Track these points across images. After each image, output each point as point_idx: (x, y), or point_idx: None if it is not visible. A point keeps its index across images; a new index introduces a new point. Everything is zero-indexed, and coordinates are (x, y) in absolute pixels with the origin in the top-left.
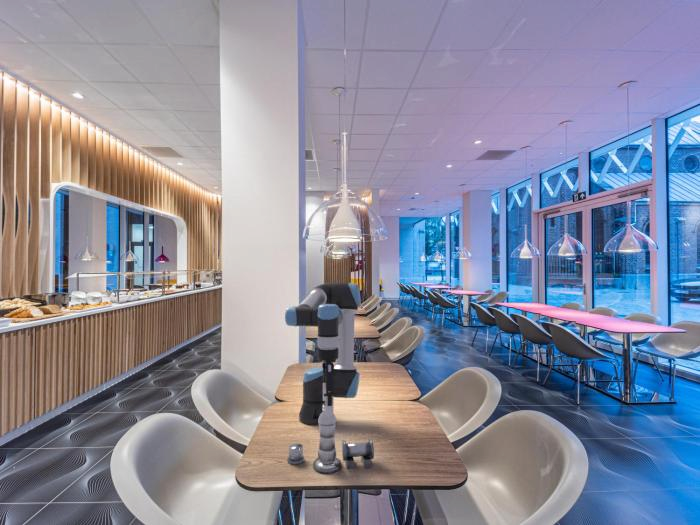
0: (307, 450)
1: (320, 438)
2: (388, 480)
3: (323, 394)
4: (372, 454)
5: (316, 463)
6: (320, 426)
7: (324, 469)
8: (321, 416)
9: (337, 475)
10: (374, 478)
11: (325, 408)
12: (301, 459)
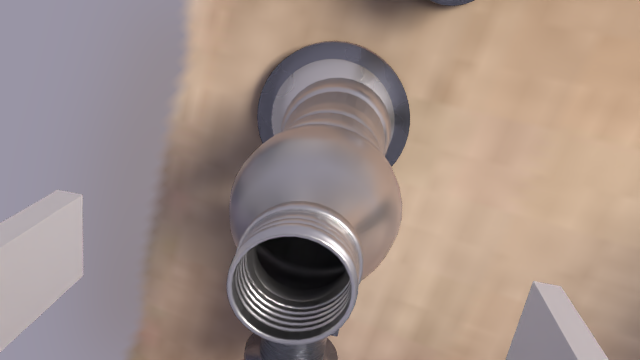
0: (552, 48)
1: (315, 110)
2: (154, 322)
3: (562, 342)
4: (247, 342)
5: (336, 62)
6: (286, 129)
7: (273, 91)
8: (282, 166)
9: (235, 143)
10: (178, 281)
11: (4, 221)
12: None
